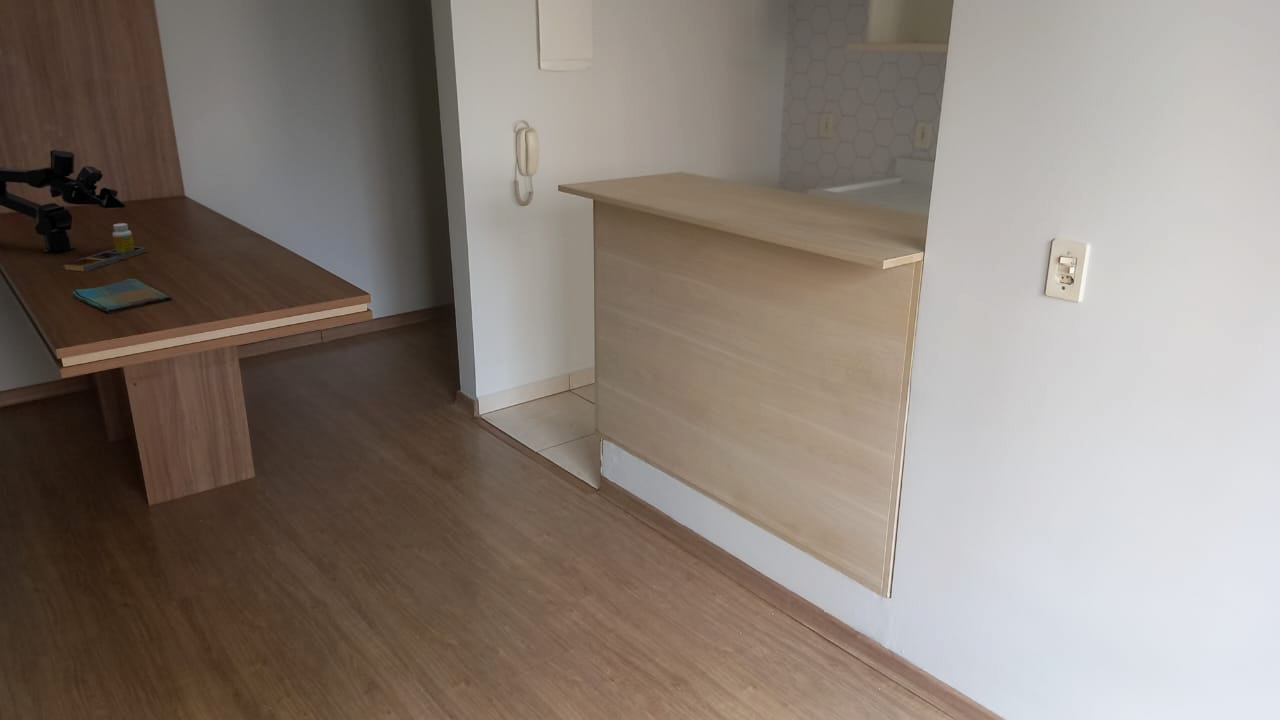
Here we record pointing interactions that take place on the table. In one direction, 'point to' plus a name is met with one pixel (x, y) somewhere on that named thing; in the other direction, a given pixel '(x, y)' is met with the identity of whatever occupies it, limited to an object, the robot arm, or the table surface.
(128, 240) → the supplement bottle
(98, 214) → the table surface
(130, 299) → the dish towel
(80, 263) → the divided tray
